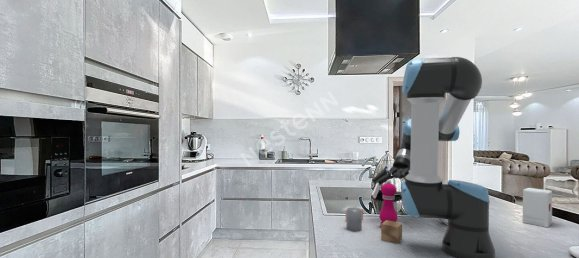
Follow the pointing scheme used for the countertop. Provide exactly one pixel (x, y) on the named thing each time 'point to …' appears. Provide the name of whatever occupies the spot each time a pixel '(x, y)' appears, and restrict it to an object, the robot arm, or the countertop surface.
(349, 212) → the charcoal canister
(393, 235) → the walnut block
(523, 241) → the countertop surface
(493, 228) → the countertop surface
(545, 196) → the supplement box
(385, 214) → the pepper mill
